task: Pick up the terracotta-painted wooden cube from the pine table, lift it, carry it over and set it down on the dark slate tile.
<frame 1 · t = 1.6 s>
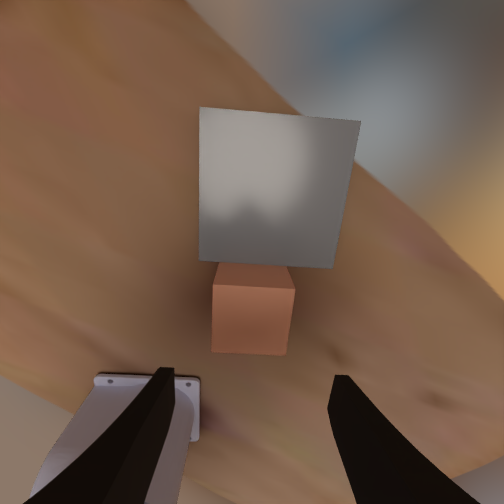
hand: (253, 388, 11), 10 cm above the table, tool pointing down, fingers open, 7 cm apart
clay cube: (250, 286, 21), on the table
slate tile: (271, 194, 18), on the table
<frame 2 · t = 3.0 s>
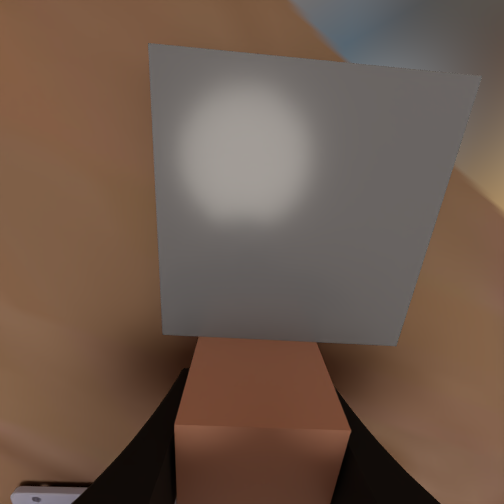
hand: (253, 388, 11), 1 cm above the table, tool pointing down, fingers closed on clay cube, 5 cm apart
clay cube: (253, 364, 13), on the table, touching gripper
slate tile: (291, 218, 10), on the table
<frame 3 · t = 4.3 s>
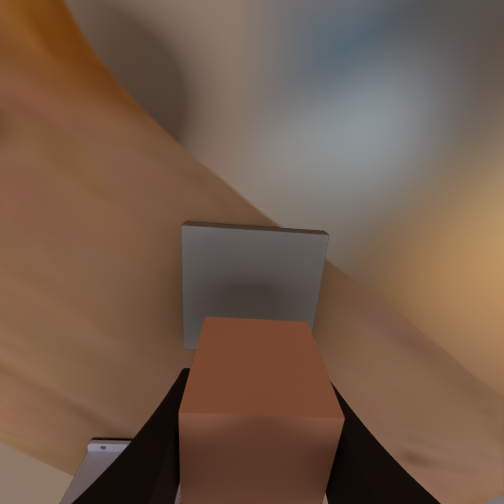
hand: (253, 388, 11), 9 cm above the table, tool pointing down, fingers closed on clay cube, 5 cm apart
clay cube: (252, 360, 13), point 7 cm above the table, touching gripper
slate tile: (250, 288, 20), on the table
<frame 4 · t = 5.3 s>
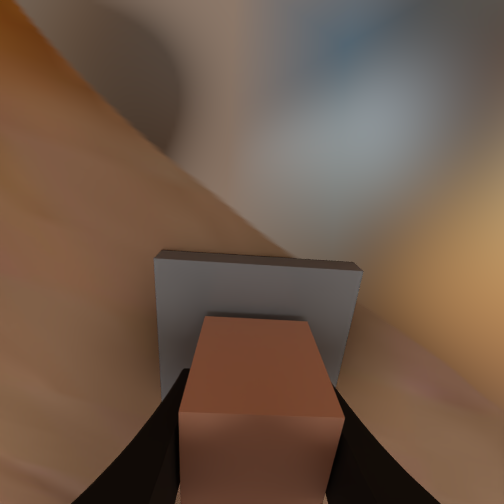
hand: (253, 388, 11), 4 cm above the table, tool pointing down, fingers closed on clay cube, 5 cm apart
clay cube: (252, 360, 13), point 2 cm above the table, touching gripper
slate tile: (252, 336, 15), on the table
when the fingers open (3 cm above the table, at t = 5.9 s): clay cube stays where it is, resting on slate tile.
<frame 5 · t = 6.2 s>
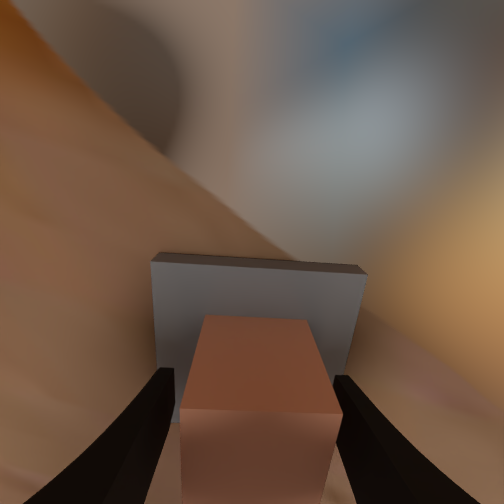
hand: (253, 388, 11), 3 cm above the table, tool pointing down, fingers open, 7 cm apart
clay cube: (252, 358, 13), point 1 cm above the table, touching slate tile
slate tile: (252, 341, 14), on the table
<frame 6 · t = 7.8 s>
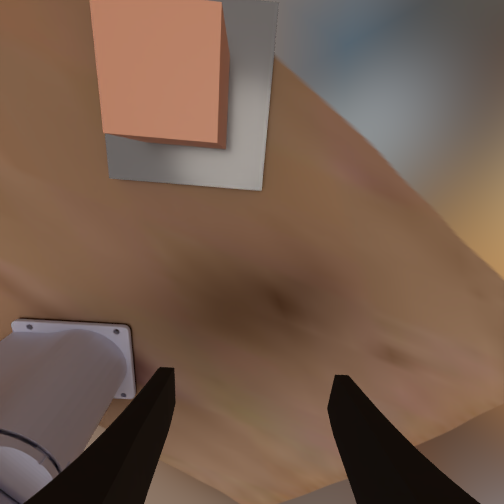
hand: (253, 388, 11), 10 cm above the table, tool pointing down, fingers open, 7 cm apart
clay cube: (186, 100, 15), point 1 cm above the table, touching slate tile
slate tile: (190, 103, 16), on the table
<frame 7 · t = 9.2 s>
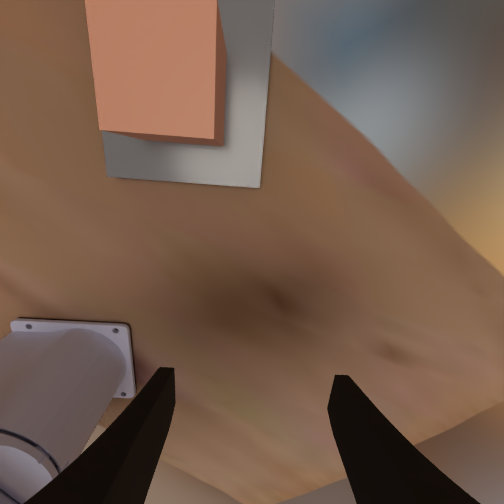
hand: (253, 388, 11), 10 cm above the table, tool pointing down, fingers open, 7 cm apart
clay cube: (183, 98, 15), point 1 cm above the table, touching slate tile
slate tile: (187, 100, 16), on the table
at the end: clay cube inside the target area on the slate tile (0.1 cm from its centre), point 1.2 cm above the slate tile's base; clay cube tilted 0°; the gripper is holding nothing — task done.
